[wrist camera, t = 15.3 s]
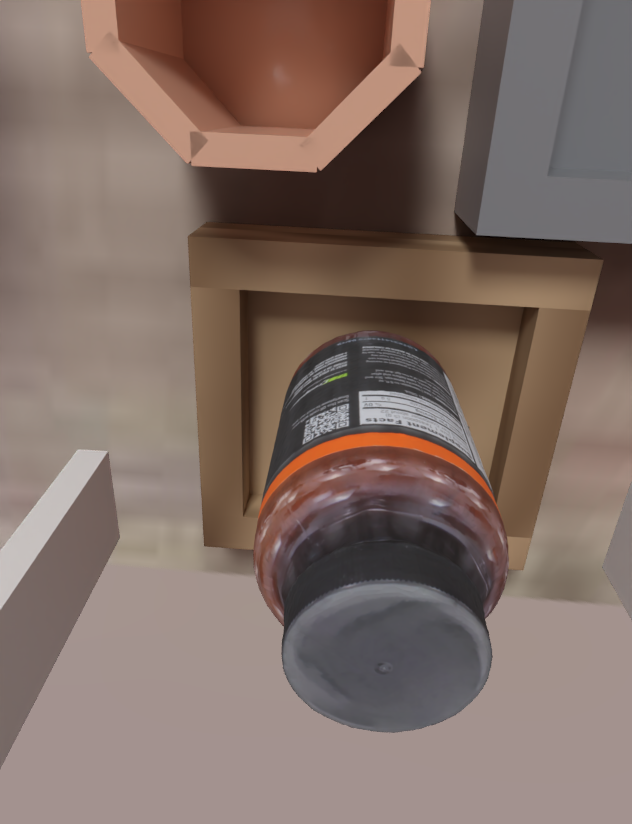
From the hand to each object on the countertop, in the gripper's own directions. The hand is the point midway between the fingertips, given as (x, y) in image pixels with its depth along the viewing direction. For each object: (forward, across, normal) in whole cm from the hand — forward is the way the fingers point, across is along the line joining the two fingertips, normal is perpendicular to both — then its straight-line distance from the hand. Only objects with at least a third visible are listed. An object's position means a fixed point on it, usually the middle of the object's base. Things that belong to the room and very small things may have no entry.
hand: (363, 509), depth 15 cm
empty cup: (+8, -3, +11) cm, 14 cm away
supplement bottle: (+7, 0, 0) cm, 7 cm away
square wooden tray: (+7, +1, 0) cm, 8 cm away
